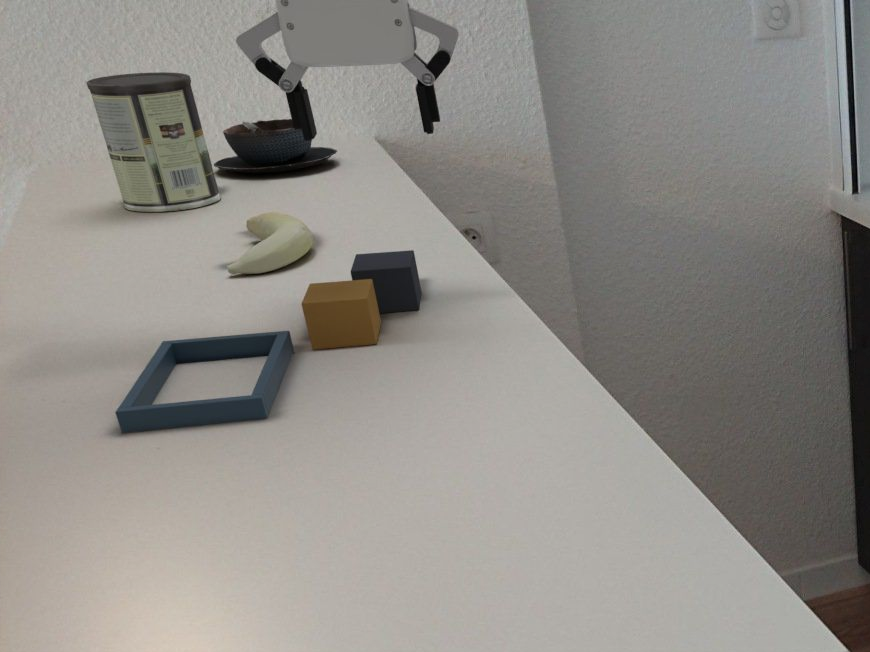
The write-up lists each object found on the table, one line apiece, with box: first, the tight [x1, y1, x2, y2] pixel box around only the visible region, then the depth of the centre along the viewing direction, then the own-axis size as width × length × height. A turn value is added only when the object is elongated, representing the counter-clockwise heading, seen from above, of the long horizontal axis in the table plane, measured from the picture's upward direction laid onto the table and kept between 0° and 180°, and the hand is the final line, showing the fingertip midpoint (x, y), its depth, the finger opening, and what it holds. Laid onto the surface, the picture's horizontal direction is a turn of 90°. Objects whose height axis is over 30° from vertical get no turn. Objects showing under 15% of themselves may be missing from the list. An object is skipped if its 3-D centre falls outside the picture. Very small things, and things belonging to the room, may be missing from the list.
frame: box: [114, 330, 295, 434], centre depth 96 cm, size 16×9×2 cm, turn 18°
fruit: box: [226, 211, 314, 275], centre depth 131 cm, size 7×15×3 cm, turn 18°
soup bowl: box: [213, 118, 338, 174], centre depth 168 cm, size 15×16×7 cm
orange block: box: [301, 279, 382, 351], centre depth 109 cm, size 6×5×4 cm
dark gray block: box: [350, 249, 422, 314], centre depth 117 cm, size 6×5×4 cm
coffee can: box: [85, 71, 222, 213], centre depth 149 cm, size 10×10×14 cm
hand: (370, 134), depth 112 cm, fingers open, 9 cm apart
